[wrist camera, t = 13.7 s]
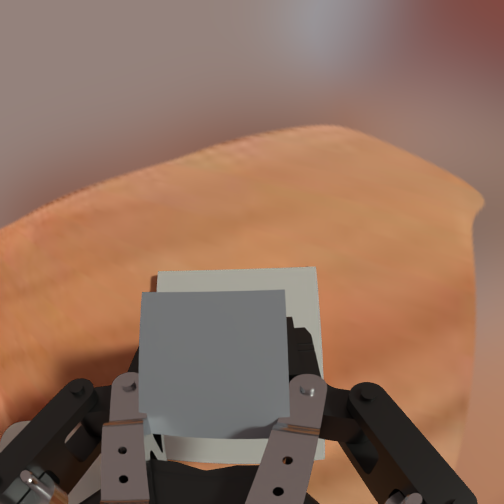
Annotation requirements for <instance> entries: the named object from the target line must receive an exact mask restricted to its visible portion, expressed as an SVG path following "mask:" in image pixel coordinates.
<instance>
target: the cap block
mask: <svg viewBox="0 0 504 504" xmlns="http://www.w3.org/2000/svg"><path fill="white" fill-rule="evenodd" d="M139 412H141V413H147V416H148V421H149V425H150V429H151V433H152V434H160V435H170V436H181V437H194V438H213V439H269V436H270V433H271V431H272V428H273V426H274V425H276V424H277V421H278V418H279V417H290V403H289V370H288V344H287V321H286V301H285V289H284V290H255V291H215V292H142V301H141V317H140V337H139Z"/></svg>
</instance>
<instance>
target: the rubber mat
mask: <svg viewBox="0 0 504 504" xmlns="http://www.w3.org/2000/svg"><path fill="white" fill-rule="evenodd" d="M284 289H285V301H286V317H292V318H293V324H294V328H301V327H305V328H306V329H307V330H308V332H309V333H310V334H311V336H312V340H313V344H314V349H315V353H316V357H317V361H318V366H319V370H320V375H321V378H322V379H323V359H322V341H321V325H320V311H319V298H318V286H317V274H316V267H294V268H266V269H234V270H198V271H158V279H157V292H215V291H255V290H284ZM163 436H164V444H165V452H166V458H167V459H170V460H179V461H190V462H203V463H225V464H260V462H261V459H262V457H263V454H264V451H265V448H266V445H267V442H268V439H213V438H194V437H181V436H170V435H163ZM321 459H325V439H320V438H318V443H317V448H316V453H315V457H314V460H321Z"/></svg>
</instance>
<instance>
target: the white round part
mask: <svg viewBox="0 0 504 504" xmlns="http://www.w3.org/2000/svg"><path fill="white" fill-rule="evenodd" d="M29 422H30V421H22V422H17V423H14V424H13V425H11V426H10V427H9V428H8V429H7V430H6V431H5V432H4V434H3V436H2V438H1V441H0V453H1V452H2V451H3V449H4V448H5V447H6V446H7V445H8V444H9V443H10V442H11V441H12V440H13V439H14V438H15V437H16V436H17V435H18V434H19V433H20V432H21V431H22V430H23V429H24V427H25V426H26V425H27V424H28V423H29ZM80 426H81V423H80V422H79V423H78V424H77V426H76V427H75V428H74V429H73V430H72V431H71V432H70V434H69V435H68V436H67V437H66V439H65V443H66V442H67V441H68V440H69V439H70V437H71V436H72V435H73V434H74V433H75V432H76V430H77V429H78V428H79V427H80ZM100 489H101V454H100V455H99V456H98V458H97V459H96V460H95V461H94V463H93V464H92V465H91V466H90V468H89V469H88V470H87V472H86V473H85V474H84V475H83V477H82V478H81V479H80V480H79V482H78V483H77V484H76V486H75V487H74V488H73V489H72V491H71V492H70V493H69V494H68V504H79V503H80V502H82V501H83V500H85V499H86V498H88V497H89V496H91V495H92V494H94V493H95V492H97V491H98V490H100Z"/></svg>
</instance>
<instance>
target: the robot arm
mask: <svg viewBox="0 0 504 504" xmlns="http://www.w3.org/2000/svg"><path fill="white" fill-rule="evenodd" d="M286 321H287V344H288V370H289V403H290V417H279V418H278V421H277V424H276V425H274V426H273V428H272V431H271V433H270V436H269V439H268V442H267V445H266V448H265V451H264V454H263V457H262V459H261V462H260V465H236V466H231V467H226V468H220V469H214V470H207V471H206V470H201V469H197V468H194V467H191V466H188V465H184V464H181V463H178V462H173V461H167V458H166V452H165V444H164V436H163V435H160V434H152V433H151V429H150V425H149V421H148V416H147V413H141V412H139V347H138V349H137V352H136V354H135V356H134V358H133V360H132V363H131V365H130V367H129V370H128V372H127V373H124V374H121V375H119V376H118V377H117V378H116V379H115V380H114V381H113V383H112V385H110V386H103V387H96V388H94V386H93V384H92V383H91V382H90V381H89V380H87V379H75V380H73V381H71V382H69V383H68V384H67V385H66V386H65V387H64V388H63V389H62V390H61V391H60V392H59V393H58V394H57V395H56V396H55V397H54V398H53V399H52V400H51V401H50V402H49V403H48V404H47V405H46V406H45V407H44V408H43V409H42V410H41V411H40V412H39V413H38V414H37V415H36V416H35V417H34V418H33V419H32V420H31V421H30V422H29V423H28V424H27V425H26V426H25V427H24V429H23V430H22V431H21V432H20V433H19V434H18V435H17V436H16V437H15V438H14V439H13V440H12V441H11V442H10V443H9V444H8V445H7V446H6V447H5V448H4V449H3V451H2V452H1V453H0V504H68V494H69V493H70V492H71V491H72V489H73V488H74V487H75V486H76V484H77V483H78V482H79V480H80V479H81V478H82V477H83V475H84V474H85V473H86V472H87V470H88V469H89V468H90V466H91V465H92V464H93V463H94V461H95V460H96V459H97V458H98V456H99V455H100V454H101V489H100V490H98V491H97V492H95V493H94V494H92V495H91V496H89V497H88V498H86V499H85V500H83V501H82V502H80V503H79V504H319V503H318V502H317V501H316V500H315V499H314V498H313V497H311V496H310V495H309V494H308V493H307V492H306V491H307V487H308V483H309V479H310V475H311V471H312V466H313V462H314V457H315V453H316V448H317V443H318V438H320V439H326V440H332V441H338V443H339V444H340V446H341V447H342V449H343V450H344V452H345V454H346V455H347V457H348V458H349V460H350V461H351V463H352V464H353V466H354V467H355V469H356V471H357V472H358V474H359V475H360V477H361V478H362V480H363V481H364V483H365V484H366V486H367V487H368V489H369V490H370V492H371V493H372V495H373V496H374V498H375V499H376V501H377V502H378V504H477V499H476V497H475V495H474V494H473V493H472V492H471V490H470V489H469V488H468V487H467V486H466V484H465V483H464V482H463V481H462V480H461V479H460V478H459V476H458V475H457V474H456V473H455V472H454V470H453V469H452V468H451V467H450V466H449V465H448V463H447V462H446V461H445V460H444V459H443V457H442V456H441V455H440V454H439V453H438V452H437V450H436V449H435V448H434V447H433V446H432V445H431V444H430V442H429V441H428V440H427V439H426V438H425V437H424V435H423V434H422V433H421V432H420V431H419V430H418V428H417V427H416V426H415V425H414V424H413V423H412V421H411V420H410V419H409V418H408V417H407V416H406V415H405V413H404V412H403V411H402V410H401V409H400V408H399V406H398V405H397V404H396V403H395V402H394V401H393V400H392V398H391V397H390V396H389V395H388V394H387V393H386V391H385V390H384V389H383V388H382V387H380V386H379V385H377V384H374V383H370V382H363V383H359V384H357V385H355V386H354V387H353V388H352V389H351V390H343V389H337V388H334V387H331V386H329V385H328V384H326V382H325V381H324V380H323V379H322V378H321V375H320V370H319V366H318V361H317V357H316V353H315V349H314V344H313V340H312V336H311V334H310V333H309V332H308V330H307V329H306V328H305V327H301V328H294V324H293V318H292V317H286ZM79 422H80V423H81V426H80V427H79V428H78V429H77V430H76V432H75V433H74V434H73V435H72V436H71V437H70V439H69V440H68V441H67V442H66V443H65V439H66V437H67V436H68V435H69V434H70V432H71V431H72V430H73V429H74V428H75V427H76V426H77V424H78V423H79Z"/></svg>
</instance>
